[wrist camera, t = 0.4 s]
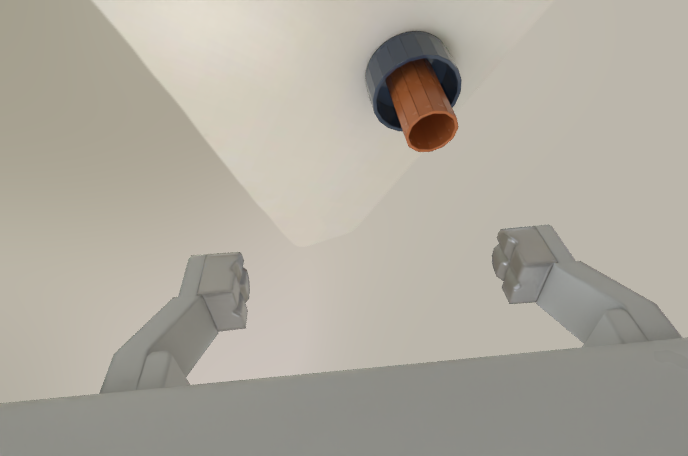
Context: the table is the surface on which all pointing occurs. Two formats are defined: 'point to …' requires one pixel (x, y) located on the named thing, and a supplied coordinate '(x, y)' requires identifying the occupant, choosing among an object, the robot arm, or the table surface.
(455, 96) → the wide pot
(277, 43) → the table surface
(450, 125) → the orange cup
